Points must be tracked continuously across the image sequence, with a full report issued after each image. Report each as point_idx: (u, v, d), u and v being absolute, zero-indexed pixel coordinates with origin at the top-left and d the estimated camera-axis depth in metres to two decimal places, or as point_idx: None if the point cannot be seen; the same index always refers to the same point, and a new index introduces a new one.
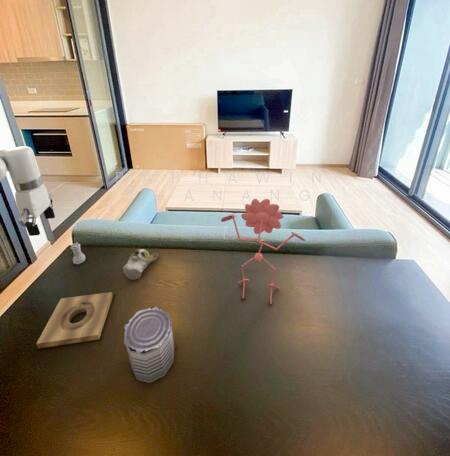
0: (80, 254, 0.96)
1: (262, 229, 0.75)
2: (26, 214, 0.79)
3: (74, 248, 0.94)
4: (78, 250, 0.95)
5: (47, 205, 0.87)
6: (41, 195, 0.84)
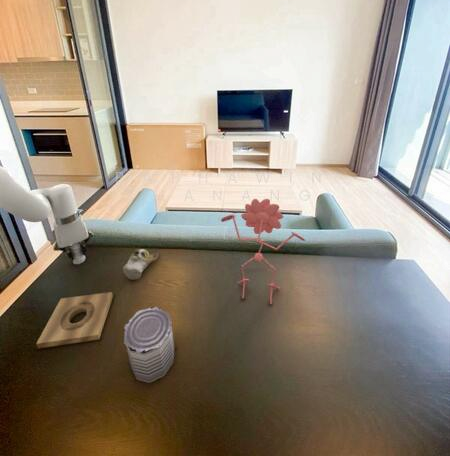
0: (80, 254, 0.96)
1: (262, 229, 0.75)
2: (56, 246, 0.90)
3: (74, 248, 0.94)
4: (78, 250, 0.95)
5: (81, 239, 0.94)
6: (72, 230, 0.90)
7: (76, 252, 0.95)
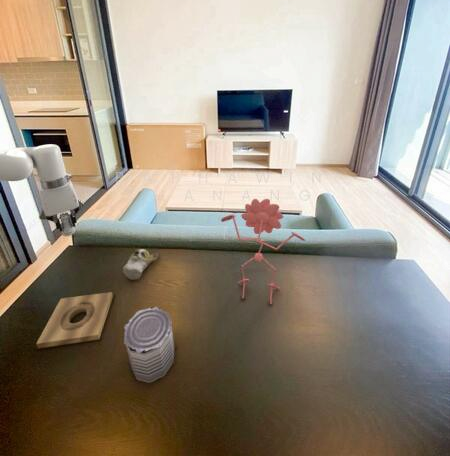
0: (69, 225, 0.87)
1: (262, 229, 0.75)
2: (42, 214, 0.81)
3: (63, 218, 0.85)
4: (67, 220, 0.86)
5: (70, 207, 0.85)
6: (60, 197, 0.81)
7: (65, 222, 0.86)
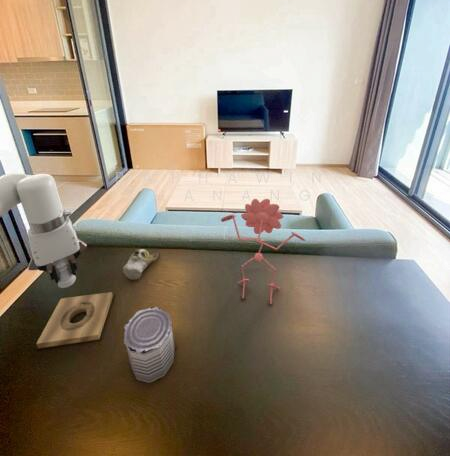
0: (68, 274, 0.68)
1: (262, 229, 0.75)
2: (32, 264, 0.63)
3: (59, 266, 0.66)
4: (65, 268, 0.67)
5: (69, 252, 0.66)
6: (55, 241, 0.63)
7: (62, 271, 0.67)
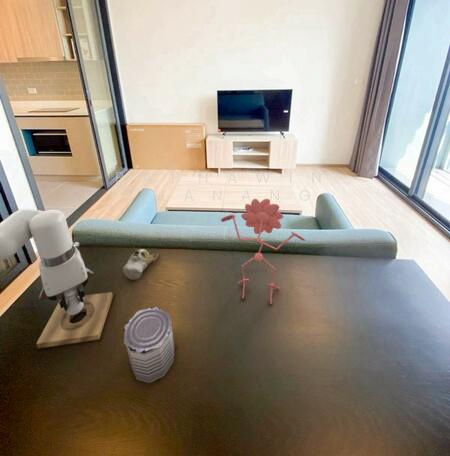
0: (76, 301, 0.72)
1: (262, 229, 0.75)
2: (43, 295, 0.66)
3: (68, 295, 0.69)
4: (74, 296, 0.71)
5: (77, 282, 0.69)
6: (65, 273, 0.66)
7: (71, 299, 0.70)
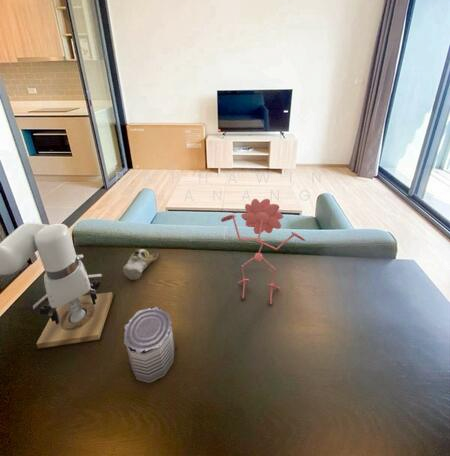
0: (80, 312, 0.73)
1: (262, 229, 0.75)
2: (43, 301, 0.66)
3: (72, 306, 0.71)
4: (77, 308, 0.72)
5: (81, 293, 0.71)
6: (68, 285, 0.68)
7: (74, 311, 0.72)
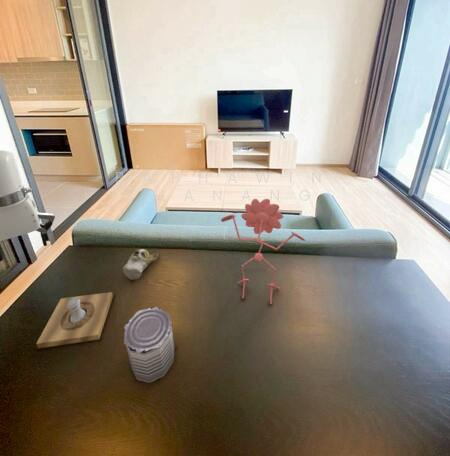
0: (80, 312, 0.73)
1: (262, 229, 0.75)
2: None
3: (72, 306, 0.71)
4: (77, 308, 0.72)
5: (28, 230, 0.66)
6: (12, 217, 0.62)
7: (74, 311, 0.72)
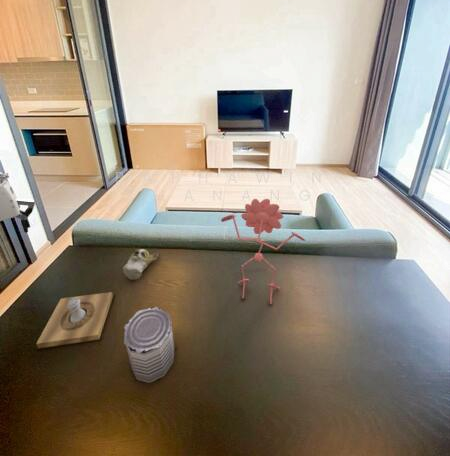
0: (80, 312, 0.73)
1: (262, 229, 0.75)
2: None
3: (72, 306, 0.71)
4: (77, 308, 0.72)
5: (7, 216, 0.66)
6: None
7: (74, 311, 0.72)
